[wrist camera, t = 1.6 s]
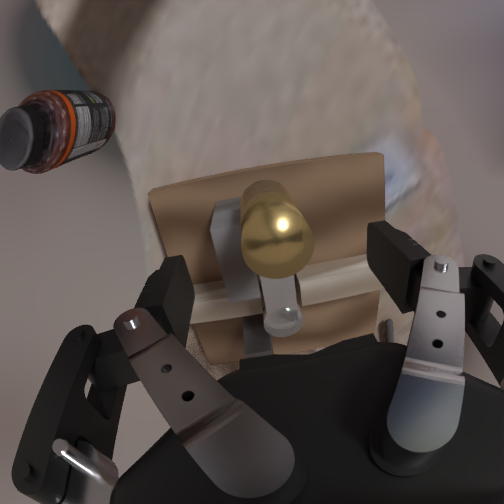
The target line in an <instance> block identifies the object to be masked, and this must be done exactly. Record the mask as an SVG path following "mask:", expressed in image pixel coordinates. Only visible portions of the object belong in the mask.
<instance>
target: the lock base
mask: <svg viewBox="0 0 504 504" xmlns="http://www.w3.org/2000/svg"><path fill="white" fill-rule="evenodd" d="M260 180H273V181H276V182H280V183H281V184H282V185H283V186H284V187H285V188H286V190H287V191H288V193H289V194H290V196H291V197H292V199H293V201H294V202H295V204H296V206H297V207H298V209H299V210H300V212H301V214H302V215H303V217H304V219H305V220H306V222H307V224H308V225H309V227H310V229H311V231H312V233H313V236H314V241H315V247H314V252H313V255H312V257H311V259H310V261H309V263H308V264H307V265H306V266H305V267H304V268H303V269H302V270H301V271H300V272H298V273H296V274H294V281H295V290H296V300H297V304H298V305H299V306H300V309H301V312H302V316H303V325H302V327H301V328H300V330H299V331H297V332H296V333H295V334H293V335H290V336H287V337H275V336H272V335H270V334H269V333H268V332H267V331H266V330H265V327H264V320H263V311H264V309H265V307H266V306H265V301H264V296H263V290H262V285H261V280H260V275H258V274H256V273H255V272H253V271H252V270H251V269H250V268H249V267H248V266H247V264H246V263H245V261H244V259H243V255H242V246H241V217H240V200H241V197H242V194H243V192H244V188H245V187H248V186H249V185H251V184H252V183H254V182H257V181H260ZM148 196H149V199H150V203H151V206H152V210H153V213H154V216H155V219H156V223H157V226H158V229H159V232H160V235H161V238H162V241H163V244H164V247H165V250H166V253H167V256H168V257H171V256H176V255H183V257H184V259H185V262H186V265H187V268H188V271H189V274H190V277H191V280H192V283H193V287H194V292H195V300H194V305H193V310H192V315H191V320H190V324H193V326H194V328H195V331H196V333H197V335H198V338H199V340H200V343H201V345H202V347H203V350H204V352H205V354H206V357H207V359H208V361H209V363H210V365H214V364H223V363H232V362H240V359H245V358H252V357H259V356H265V355H272V354H291V353H296V352H301V351H306V350H311V349H316V348H321V347H325V346H330V345H334V344H336V343H338V342H340V341H343V340H347V339H351V338H355V337H359V336H363V335H367V334H371V333H373V334H374V332H375V325H376V319H377V311H378V304H379V295H380V289H384V287H383V286H382V284H381V283H380V281H379V280H378V279H377V277H376V276H375V275H374V273H373V272H372V271H371V269H370V268H369V266H368V262H367V225H368V223H370V222H377V221H383V220H385V173H384V155H383V154H381V153H378V152H370V153H358V154H347V155H338V156H329V157H320V158H312V159H304V160H297V161H290V162H283V163H277V164H270V165H264V166H258V167H252V168H247V169H241V170H236V171H231V172H225V173H220V174H215V175H211V176H206V177H201V178H197V179H192V180H188V181H183V182H179V183H175V184H171V185H166V186H162V187H158V188H154V189H152V190H151V191H150V192H149V193H148Z"/></svg>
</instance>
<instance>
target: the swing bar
mask: <svg viewBox="0 0 504 504" xmlns="http://www.w3.org/2000/svg"><path fill="white" fill-rule="evenodd" d="M240 217H241V246H242V255H243V259H244V261H245V263H246V264H247V266H248V267H249V268H250V269H251V270H252V271H253V272H255V273H256V274H258V275H260V280H261V285H262V290H263V296H264V301H265V306H266V307H265V309H264V311H263V320H264V327H265V330H266V331H267V332H268V333H269V334H270V335H272V336H275V337H287V336H290V335H293V334H295V333H296V332H297V331H299V330H300V328H301V327H302V325H303V316H302V312H301V309H300V306H299V305H298V304H297V300H296V290H295V281H294V274H296V273H298V272H300V271H301V270H302V269H303V268H304V267H305V266H306V265H307V264H308V263H309V261H310V259H311V257H312V255H313V252H314V247H315V241H314V236H313V233H312V231H311V229H310V227H309V225H308V224H307V222H306V220H305V219H304V217H303V215H302V214H301V212H300V210H299V209H298V207H297V206H296V204H295V202H294V201H293V199H292V197H291V196H290V194H289V193H288V191H287V190H286V188H285V187H284V186H283V185H282V184H281V183H280V182H276V181H273V180H260V181H257V182H254V183H252V184H251V185H249V186H248V187H245V188H244V192H243V194H242V197H241V200H240Z"/></svg>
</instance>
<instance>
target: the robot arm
mask: <svg viewBox="0 0 504 504" xmlns="http://www.w3.org/2000/svg"><path fill="white" fill-rule="evenodd" d="M367 262H368V266H369V268H370V269H371V271H372V272H373V273H374V275H375V276H376V277H377V279H378V280H379V281H380V283H381V284H382V286H383V287H384V288H385V290H386V291H387V292H388V294H389V295H390V297H391V298H392V299H393V301H394V302H395V304H396V305H397V307H398V308H399V309H400V311H401V312H402V314H404V313H407V312H411V311H414V312H415V313H414V317H413V322H412V326H411V330H410V335H409V339H408V342H407V346H405V345H402V344H398V343H393V342H377V340H376V338H375V336H374V334H373V333H371V334H367V335H363V336H359V337H355V338H351V339H347V340H343V341H340V342H338V343H336V344H334V345H331V346H329V347H327V348H325V349H322V350H320V351H318V352H315V353H313V354H309V355H286V354H272V355H265V356H259V357H252V358H245V359H240V369H239V370H236V371H234V372H232V373H229V374H227V375H225V376H224V377H222V378H220V379H219V380H217V381H216V380H215V379H214V378H213V377H212V376H211V375H210V374H209V373H208V372H207V371H206V370H205V369H204V368H203V366H202V365H201V364H200V363H199V362H198V361H197V360H196V359H195V358H194V357H193V356H192V355H191V354H190V353H189V352H188V351H187V350H186V348H185V347H186V341H187V336H188V331H189V325H190V320H191V315H192V310H193V305H194V300H195V292H194V287H193V283H192V280H191V277H190V274H189V271H188V268H187V265H186V262H185V259H184V257H183V255H176V256H171V257H165V259H164V261H163V263H162V265H161V267H160V269H159V270H156V271H155V272H154V273H152V274H151V275H150V276H149V277H148V279H147V281H146V283H145V286H144V288H143V290H142V292H141V294H140V296H139V298H138V300H137V303H136V305H135V307H134V309H130V310H128V311H126V312H124V313H122V314H121V315H120V316H119V317H118V318H117V319H116V320H115V322H114V329H112V330H109V331H106V332H103V333H99V334H96V332H95V330H94V328H93V327H92V326H90V325H81V326H79V327H76V328H74V329H73V330H71V331H70V332H69V333H68V334H67V336H66V337H65V339H64V340H63V343H62V345H61V346H60V348H59V350H58V352H57V354H56V356H55V358H54V360H53V362H52V364H51V366H50V369H49V371H48V373H47V375H46V377H45V379H44V382H43V384H42V386H41V389H40V391H39V393H38V395H37V398H36V400H35V403H34V405H33V408H32V410H31V413H30V415H29V418H28V421H27V424H26V426H25V429H24V432H23V434H22V437H21V440H20V443H19V447H18V450H17V453H16V456H15V460H14V463H13V467H12V480H13V483H14V485H15V487H16V488H17V489H18V491H20V492H21V493H23V494H24V495H26V496H28V497H30V498H32V499H33V500H35V501H37V502H39V503H40V504H504V321H503V324H502V326H501V325H500V324H499V322H498V321H497V320H496V319H495V317H494V316H493V315H492V314H491V313H490V309H491V307H492V304H493V301H494V300H495V301H496V303H497V304H498V305H499V306H500V307H501V308H502V310H503V313H504V264H503V263H502V262H501V261H500V260H498V259H497V258H495V257H493V256H490V255H486V254H481V255H477V256H476V257H475V258H474V261H473V266H472V267H458V264H457V263H456V262H455V261H454V260H453V259H451V258H449V257H447V256H443V255H431V254H430V253H429V252H427V251H426V250H425V249H424V248H423V247H422V246H421V245H419V244H418V243H417V242H416V241H415V240H413V239H412V238H411V237H410V236H409V235H408V234H407V233H405V232H402V231H400V230H398V229H395V228H394V227H392V226H391V225H390V224H389V223H388V222H386V221H385V220H383V221H377V222H370V223H368V225H367ZM465 331H466V333H467V334H468V336H469V337H470V339H471V340H472V342H473V343H474V344H475V346H476V347H477V349H478V351H479V352H480V354H481V355H482V357H483V358H484V360H485V362H486V363H487V365H488V366H489V368H490V370H491V371H492V373H493V374H494V376H495V378H496V380H497V381H498V383H499V385H500V388H498V387H496V386H494V385H491V384H489V383H487V382H485V381H483V380H480V379H478V378H476V377H474V376H471V375H469V374H467V373H465V372H462V367H463V355H464V335H465ZM87 379H89V380H90V382H91V383H92V384H91V387H90V390H89V393H88V397H87V399H86V397H85V393H84V388H85V384H86V382H87ZM137 381H141V382H142V384H143V385H144V387H145V389H146V390H147V392H148V394H149V395H150V397H151V398H152V400H153V402H154V403H155V405H156V406H157V408H158V409H159V411H160V412H161V413H162V415H163V417H164V418H165V420H166V421H167V422H168V424H169V425H170V427H171V428H170V429H169V430H168V431H167V432H166V433H165V434H164V435H163V436H162V437H161V438H160V439H159V440H158V441H157V442H156V443H155V444H154V445H153V446H152V447H151V448H150V449H149V450H148V451H147V452H146V453H145V454H144V455H143V456H142V457H141V458H140V459H139V460H138V461H136V462H135V463H134V464H133V465H132V466H131V467H130V468H129V469H128V470H127V471H126V472H125V473H124V474H123V475H122V476H121V477H120V478H119V477H118V469H117V466H116V465H115V463H114V462H113V461H112V457H113V451H114V445H115V440H116V434H117V429H118V424H119V419H120V414H121V410H122V405H123V401H124V396H125V392H126V387H127V384H130V383H134V382H137Z"/></svg>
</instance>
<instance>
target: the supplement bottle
mask: <svg viewBox="0 0 504 504" xmlns="http://www.w3.org/2000/svg"><path fill="white" fill-rule="evenodd" d="M114 126H115V111H114V108H113V106H112V104H111V102H110V100H109V99H108V98H107V97H105V96H104V95H102V94H100V93H98V92H92V91H70V90H46V91H40V92H36V93H34V94H31V95H30V96H28V97H27V98H26V99H24V100H23V101H22V103H21V104H20V105H19V106H18V107H14V108H11V109H9V110H7V111H6V112H5V113H4V114H3V115H2V116H1V118H0V164H1V165H2V166H3V167H4V168H5V169H7V170H18V169H20V168H21V169H23V170H24V171H26V172H29V173H34V174H39V173H44V172H46V171H49V170H51V169H54V168H57V167H59V166H61V165H63V164H65V163H68V162H70V161H72V160H75V159H77V158H80V157H82V156H85V155H88V154H91V153H93V152H95V151H97V150H99V149H100V148H101V147H103V146H104V145H105V143H106V142H107V141H108V140H109V138H110V137H111V135H112V133H113V130H114Z"/></svg>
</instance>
